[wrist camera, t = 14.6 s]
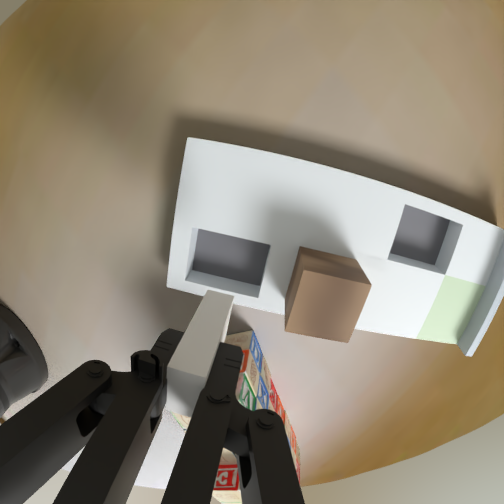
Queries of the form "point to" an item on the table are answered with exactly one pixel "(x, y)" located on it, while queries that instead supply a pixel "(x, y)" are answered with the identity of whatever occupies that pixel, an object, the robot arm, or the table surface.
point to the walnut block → (325, 295)
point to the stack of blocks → (252, 397)
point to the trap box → (333, 241)
